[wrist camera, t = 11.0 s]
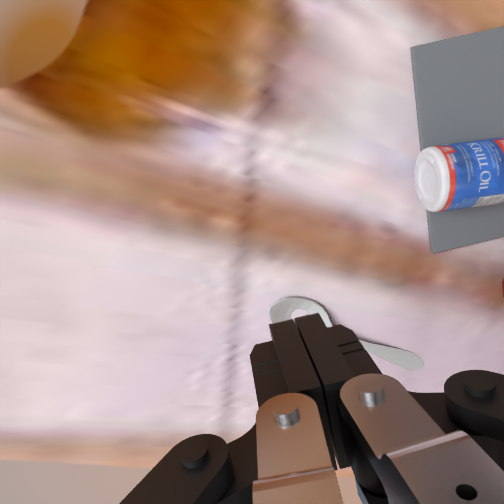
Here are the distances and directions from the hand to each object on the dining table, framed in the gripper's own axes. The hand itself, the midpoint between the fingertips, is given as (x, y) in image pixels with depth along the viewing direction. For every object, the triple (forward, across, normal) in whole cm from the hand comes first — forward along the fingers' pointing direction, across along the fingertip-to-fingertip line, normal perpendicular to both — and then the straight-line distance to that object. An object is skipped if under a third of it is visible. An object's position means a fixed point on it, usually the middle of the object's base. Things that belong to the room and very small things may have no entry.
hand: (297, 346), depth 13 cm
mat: (+27, -22, 0) cm, 35 cm away
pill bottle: (+24, -15, +2) cm, 28 cm away
